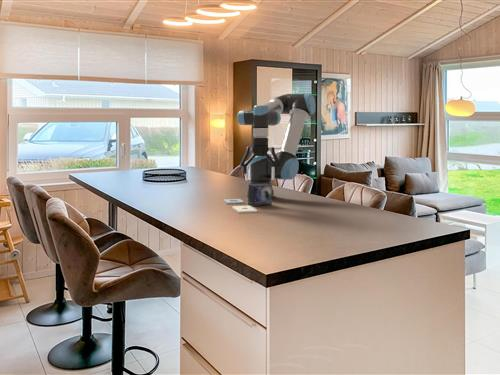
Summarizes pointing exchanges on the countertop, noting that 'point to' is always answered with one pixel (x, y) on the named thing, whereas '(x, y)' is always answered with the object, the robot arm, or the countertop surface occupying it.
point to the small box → (260, 194)
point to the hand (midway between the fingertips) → (259, 180)
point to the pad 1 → (233, 201)
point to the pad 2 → (244, 209)
